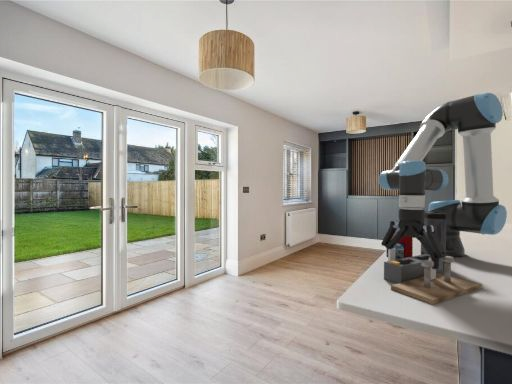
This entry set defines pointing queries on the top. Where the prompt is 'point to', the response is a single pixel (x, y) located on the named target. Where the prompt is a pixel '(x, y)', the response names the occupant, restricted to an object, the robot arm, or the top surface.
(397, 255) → the beverage can
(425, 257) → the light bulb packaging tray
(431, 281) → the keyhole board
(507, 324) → the top surface
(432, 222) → the electronic device
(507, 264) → the top surface
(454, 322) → the top surface
